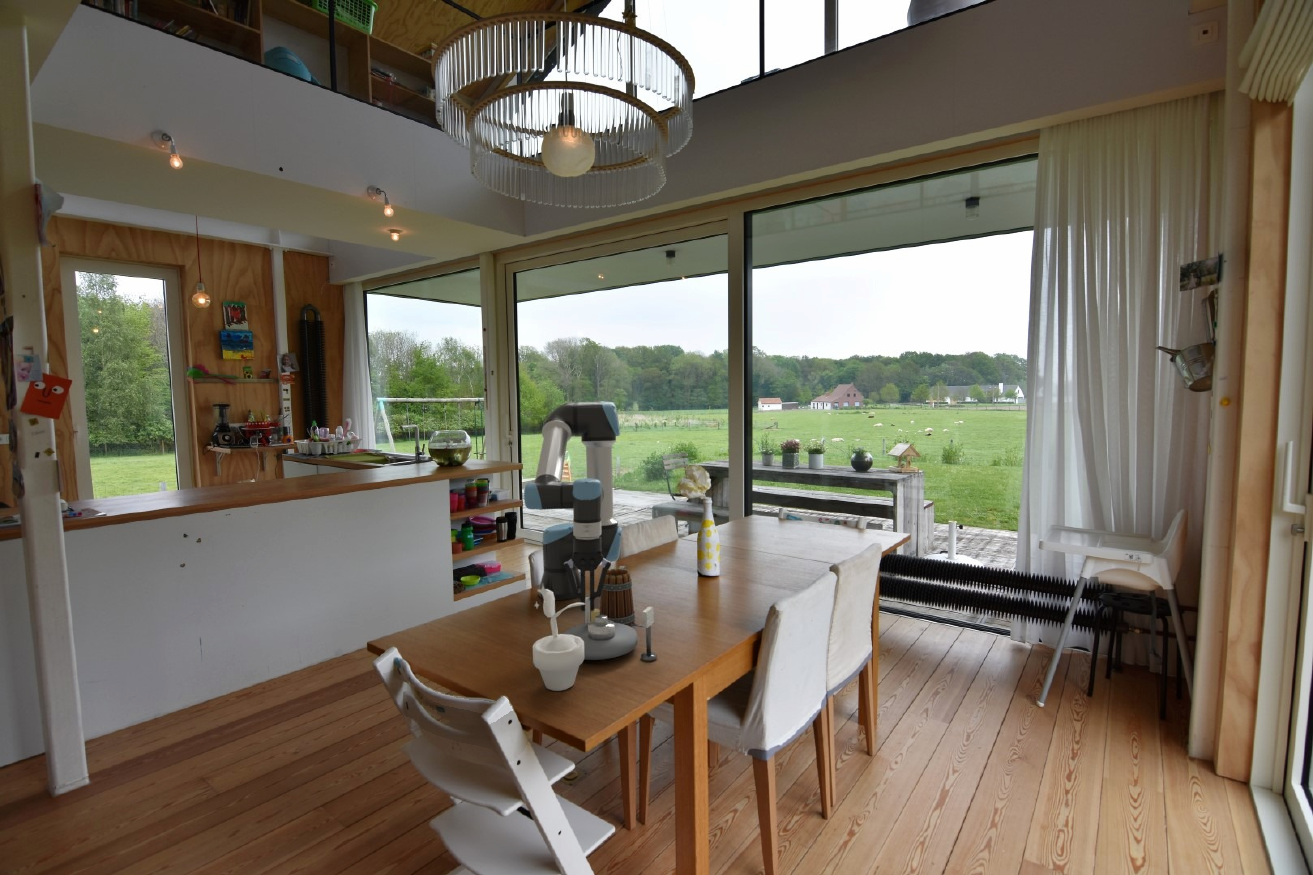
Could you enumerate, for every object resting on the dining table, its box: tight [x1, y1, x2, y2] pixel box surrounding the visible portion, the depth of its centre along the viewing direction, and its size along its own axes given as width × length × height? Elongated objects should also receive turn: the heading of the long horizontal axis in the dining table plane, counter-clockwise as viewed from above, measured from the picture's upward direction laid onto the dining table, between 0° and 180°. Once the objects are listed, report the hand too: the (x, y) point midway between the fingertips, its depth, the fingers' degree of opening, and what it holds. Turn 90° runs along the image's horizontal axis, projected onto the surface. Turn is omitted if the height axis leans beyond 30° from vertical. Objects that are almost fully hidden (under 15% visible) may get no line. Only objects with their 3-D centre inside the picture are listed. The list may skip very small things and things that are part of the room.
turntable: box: [562, 608, 638, 661], centre depth 159 cm, size 20×20×6 cm
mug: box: [599, 565, 636, 627], centre depth 181 cm, size 16×11×15 cm
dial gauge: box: [630, 606, 658, 662], centre depth 154 cm, size 7×4×12 cm, turn 66°
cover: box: [588, 615, 615, 641], centre depth 159 cm, size 7×7×5 cm
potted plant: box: [532, 585, 585, 692], centre depth 139 cm, size 13×12×25 cm
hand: (587, 622), depth 166 cm, fingers closed
